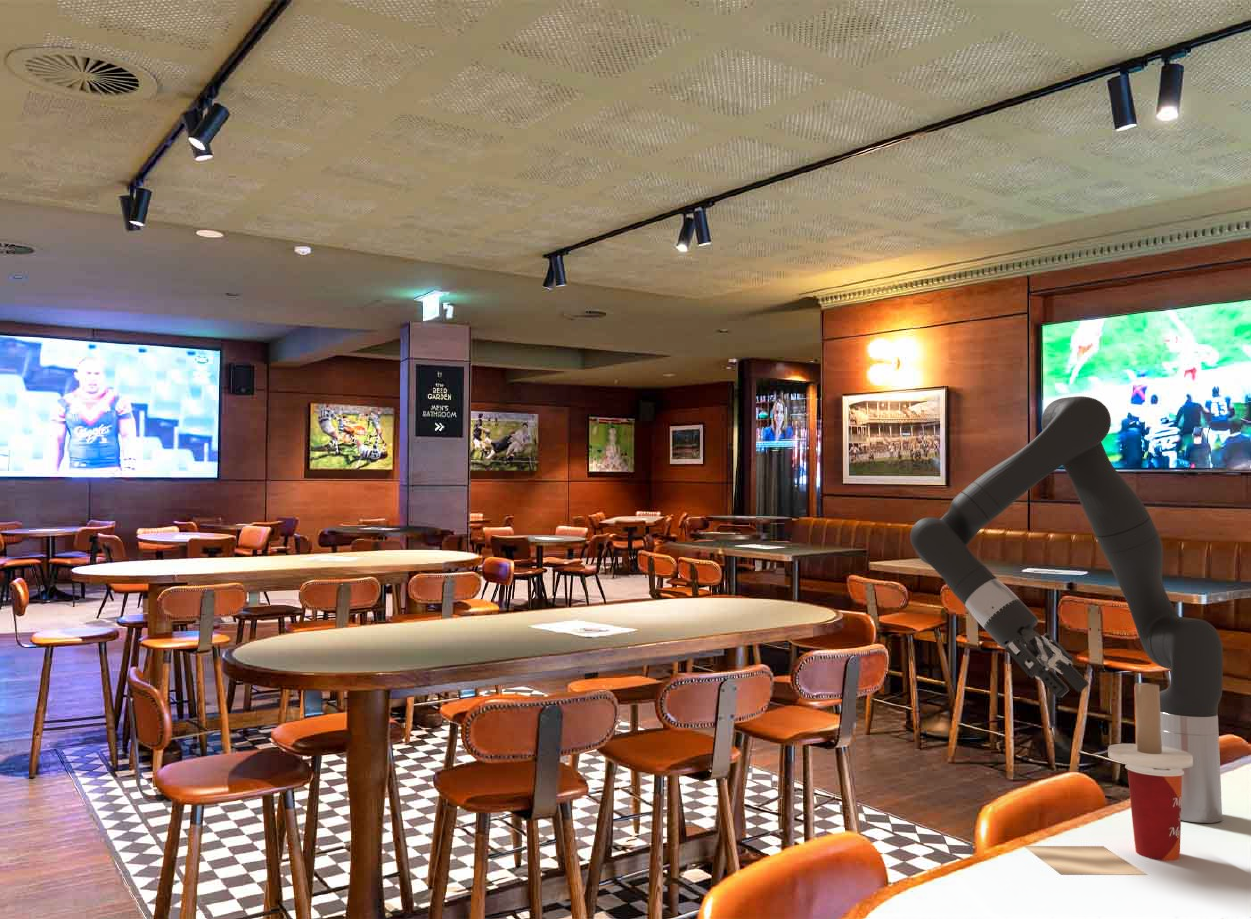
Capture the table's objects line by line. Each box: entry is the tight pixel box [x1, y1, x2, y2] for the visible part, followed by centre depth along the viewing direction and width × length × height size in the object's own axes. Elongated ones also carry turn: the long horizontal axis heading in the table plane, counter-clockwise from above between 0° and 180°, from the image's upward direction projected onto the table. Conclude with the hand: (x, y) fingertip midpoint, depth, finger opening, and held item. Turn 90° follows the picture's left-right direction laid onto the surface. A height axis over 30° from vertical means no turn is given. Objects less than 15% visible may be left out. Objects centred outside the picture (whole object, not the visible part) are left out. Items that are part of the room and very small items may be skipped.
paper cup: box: [1124, 764, 1184, 862], centre depth 140 cm, size 8×8×14 cm
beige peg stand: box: [1107, 682, 1193, 769], centre depth 142 cm, size 11×11×11 cm
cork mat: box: [1023, 845, 1149, 876], centre depth 137 cm, size 12×12×1 cm
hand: (1074, 691), depth 149 cm, fingers open, 8 cm apart
